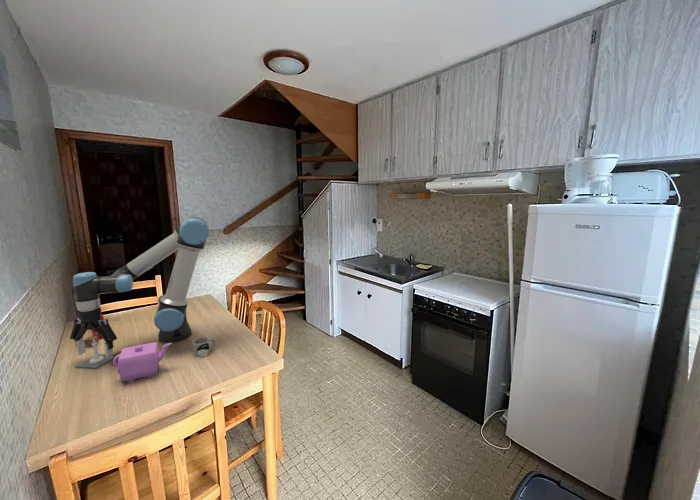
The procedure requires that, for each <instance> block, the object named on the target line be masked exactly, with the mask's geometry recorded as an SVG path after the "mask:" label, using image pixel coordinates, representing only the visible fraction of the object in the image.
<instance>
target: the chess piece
mask: <svg viewBox="0 0 700 500" xmlns="http://www.w3.org/2000/svg"><path fill="white" fill-rule="evenodd" d="M93 342H94V343H92V346H93V347H91V350H92V351H93V356H94V357H93V356H92V357H93V358H92V359H90V363H98V362H100V361H102V360H104V357H103V356H99V355H98V354H99V353H98V349H99V347H98V344H99V343H97V342H95V339H93Z"/></svg>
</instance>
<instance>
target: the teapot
mask: <svg viewBox="0 0 700 500" xmlns="http://www.w3.org/2000/svg"><path fill="white" fill-rule="evenodd" d="M172 344H173V343H164V344H163V346H162V347H161V351H160V352H159V348H158V347H159V346H158V342H157V341H154V342H150V343H149V342H148V343H143V344H138V345H134V346H129V347H124V348H122V349H121V350H120V351H121V354H119V355H117V356H116V357H115V358H114V359H113V360H112V363H113V365H114V366H116V367H117V369H116V372H117V374H119V377H120V378H119V379H120V382H121V383H122V382H123V383H124V382H126V381H127V383H129V384H130V383H133V382H135V381H136V379H138V378H139V379H140V378H143V377H146V379H150V378H149V377H151V378H153V377H154V376H153V375H157V374H158V373H159V365H160V362H161V361H162V360H163V358H164V356H165V355H166V354H165V353H166V350H167V348H168V347H169V346H170V345H172ZM117 358H119V359H118V363H117V362H116V359H117ZM152 376H153V377H152Z"/></svg>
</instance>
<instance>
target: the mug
mask: <svg viewBox="0 0 700 500" xmlns="http://www.w3.org/2000/svg"><path fill="white" fill-rule="evenodd" d="M210 342H212V345H211V346H210ZM215 347H216V339H215V338H214V337H211V338H208V337H199V338H195V339H194V340H192V350H193V351H192V352H193V357H194V356H195V357H194V358H196V357H200V358H202V357H201V356H204V355H206V354H208V353H209V352H210V351H211V350H212V349H214V348H215ZM209 354H210V353H209ZM209 354H208V355H209ZM204 357H205V356H204Z"/></svg>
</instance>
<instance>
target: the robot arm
mask: <svg viewBox="0 0 700 500" xmlns="http://www.w3.org/2000/svg"><path fill="white" fill-rule="evenodd" d="M209 233H210V228H209V226H208V223H207V222H206V221H205V220H204V219H202V218H201V217H197V216H192V217H188V218H186V219H185V220H184V221H183V222H182V223H181V224H180V225H179V226H178V227H177V228H175V229H174V230H173V233H171V234H170V235H168V236H167V237H165V238H164V239H163V240H160V241H159V242H158V243H156V244H155V245H154V246H152V247H150V248H149V249H147V250H146V251H144V252H143V253H142V254H139V255H138V256H137V257H136V258H134V259H132V260H131V261H129V262H128V263H127V264H125V265H124V266H122V267H120V268H118V269H117V270H115V272H114V273H112V274H111V275H106V276H98V275H97V273H96V272H93V271H85V272H80V273H77V274H74V275H73V277H72V288H73V290H74V296H75V305H76V310H77V317H78V318H76V319H74V320H73V327H72V330H71V333H70V335H69V339H70V340H74V342H75V347H76V349H77V355H78V356H81V355H83V354H85V353H87V350H86V349H87V348H85V343H84V339H85V338H84V336H85V334H86V333H87V331H92V330H94V331H95V332H97V333H98V334H99V335H100V336H101V337H102V340H104V351H105V355H106V357H109V356H111V355H113V354H114V341H116V340H117V339H118V337H117V335H116V333H115V332H114V330H113V328H112V327H111V325H110V323H109V319H108V318H105V319H104V320H101V319H100V316H101V315H103V313H102V307H101V299H100V295H104V294H105V295H106V294H116V293H117V294H118V293H124V292H125V293H127V292H130V291H132V289H133V287H134V280H135V279H137V278H138V277H140V276H141V275H142V274H143V275H144V274H145V272H147V271H149V270H150V269H152V268H153V267H154V266H156V265H157V264H158V263H160V262H162V261H163V260H165V259H166V258H167V257H170V256H171V255H172V254H173V253H175V252H176V251H177V254H176V257H175V261H174V263H173V267H172V271H171V274H170V277H169V281H168V285H167V288H166V292H165V294H162V295H160V296H159V297H158V299H157V302H158V305H157V310H156V314H155V315H154V317H153V321H154V322H153V323H154V326H155V327H156V328H157V329H158V330H159V332H158V335H157V338H158V342H159V343H162V344H167V343H172V344H173V343H174V344H175V343H178V342H182V341H185V340H186V339H188V338H190V337H191V336H192V335H193V334H192V332H193V331H192V328H191V327H190V324H189V322H188V319H187V308H188V304H189V301H188V300H187V295H188V291H189V288H190V284H191V282H192V278H193V274H194V270H195V267H196V264H197V261H198V257H199V254H200V252H201V251H203V250H204V249H205V246H206V242H207V239H208V238H209V235H210V234H209ZM98 327H100V328H98Z"/></svg>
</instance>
